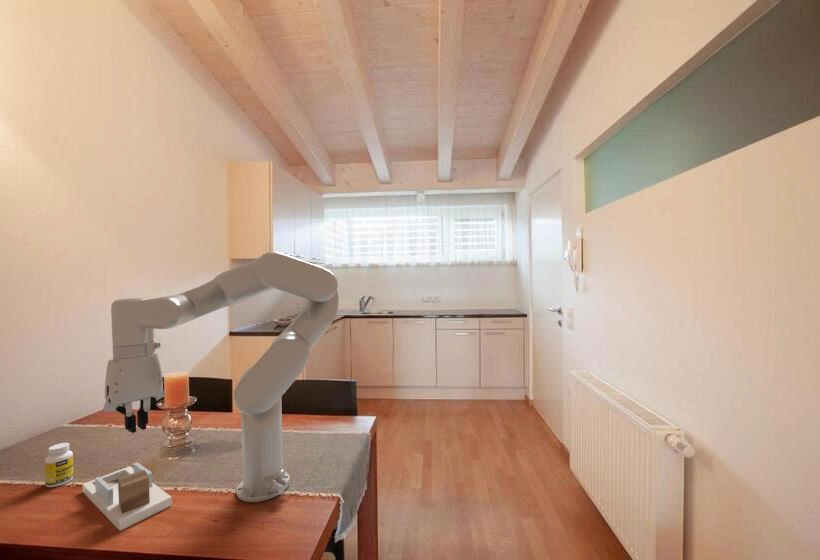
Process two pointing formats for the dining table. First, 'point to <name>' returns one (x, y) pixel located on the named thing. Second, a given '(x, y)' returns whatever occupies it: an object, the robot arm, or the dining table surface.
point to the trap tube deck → (109, 498)
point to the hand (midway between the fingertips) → (137, 429)
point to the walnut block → (133, 491)
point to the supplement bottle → (58, 465)
